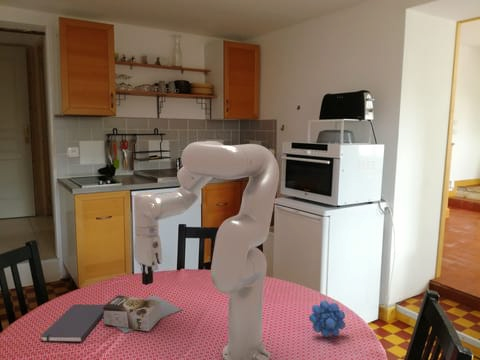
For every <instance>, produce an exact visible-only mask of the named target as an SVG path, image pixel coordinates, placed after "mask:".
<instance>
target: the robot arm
mask: <svg viewBox="0 0 480 360" xmlns="http://www.w3.org/2000/svg"><path fill="white" fill-rule="evenodd" d="M180 159H181V164H182V167H181V168H180V169H179V170H178V171H177V175H176V176H177V180H178V183H179V184H180V187H179V188H177V189H176V190H175V191H173V192H168V193H163V194H159V195H158V194H157V193H155V192H153V191H142V192H137V193H135V195H134V197H133V203H134V205H133V207H134V210H133V211H134V212H133V213H134V242H133V243H134V244H133V245H134V247H133V248H134V249H133V251H134V252H133V255H134V260H135V261H136V262H137V264H138V265H139V266H140V271H141V283H142V284H143V285H144V286H147V285H151V284H153V283H154V271H157V270H159V265H162V263H163V252H162V249H163V248H162V242H161V237H160V236H161V235H159V221H161V220H165V219H169V218H172V217H176V216H179V215H181V214H183V213H185V212H187V211H188V210H189V209H190V208H191V207H192V206H193V205H194V204H195V203H196V202H197V201H198V200H199V198H200V195H201V190H202V189H203V188H204V187H205V186H206V185H207V184H208V183H209V182H210V181H211V180H212V179H213V178H214V179H221V180H238V179H242V178H247V177H249V178H248V182H247V184H246V187H245V189H244V190H243V193H242V197H241V204H240V208H239V212H238V213H237V215H233V216H230V217H229V218H226V219H225V220H224V221H222V223H221V224H220V225H219V228H218V230H217V232H216V235H215V241H214V248H213V253H212V259H211V266H210V276H211V281H212V283H213V286H214V287H215V289H216V290H217V291H219V292H220V293H221V294H225V295H226V294H227V295H228V322H227V323H228V325H227V328H228V329H227V330H228V331H227V334H228V336H227V340H228V341H227V344H226V345H224V347H223V349H222V354H221V355H222V358H223V360H270V358H271V356H272V354H271V353H270V352H269V351H267V349H266V347H265V343H264V342H263V341H262V340H263V339H262V338H263V337H262V336H263V335H262V334H263V304H264V303H263V301H264V287H265V280H266V277H267V276H266V274H267V268H268V266H267V265H268V264H267V259H266V256H265V253H264V252H263V251H261V250H260V249H259V248H257V247H258V246H260V245H262V244H264V243H265V241H266V240H267V239H268V237H269V233H270V226H271V223H272V216H273V212H274V205H275V200H276V195H277V191H278V186H279V182H280V168H279V163H278V161H277V159H276V157H275V156H274V154H273V153H272V152H271V150H269V149H268V148H267V147H265V146H263V145H261V144H256V143H246V144H235V145H233V144H232V145H225V144H223V143H221V142H220V141H215V140H208V141H207V140H206V141H205V140H204V141H195V142H191V143H189V144H188V145H187V146H186V147H185V148H184V149H183V151H182V153H181V158H180Z"/></svg>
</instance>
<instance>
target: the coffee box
mask: <svg viewBox="0 0 480 360" xmlns="http://www.w3.org/2000/svg"><path fill="white" fill-rule="evenodd" d="M103 305H104V306H103V315H104V318H103V324H104V325H107V326H114V327H115V326H119V327H125V328H131V329H136V330H139V331H144V332H145V331H146V332H150V331H151V330H152V329H153V328H154V327H155V326H156V324H157V323H158V322H159V321H160V320H162V319H161V301H157V300H150V299H146V298H141V297H135V296H134V297H133V296H127V295H126V296H125V295H119V294H118V295H116V296H115V297H114V298H112V299H111V300H109V302H107V303H105V304H103Z"/></svg>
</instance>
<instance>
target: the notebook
mask: <svg viewBox="0 0 480 360" xmlns="http://www.w3.org/2000/svg"><path fill="white" fill-rule="evenodd" d="M104 305H105V304H72V305H71V306H70V307H69V308H68V309H67V310H66V311H65V312H64V313H63V314H62V315H61V316H60V317H59V318H57V320H56V321H54V323H53V324H51V325H50V326H49V327H48V328H47V329H46V330H45V331H44V332H43V333H42V334H41V335H40V337H41V342H56V343H57V342H58V343H59V342H60V343H61V342H63V343H71V342H72V343H82V342H83V341H84V340H85V338H86V337H87V336H88V335H89V334H90V332H92V330H93V329H94V327H96V325H97V324H98V323H99V321H100V320H101V319H103V306H104Z"/></svg>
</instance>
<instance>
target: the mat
mask: <svg viewBox="0 0 480 360" xmlns="http://www.w3.org/2000/svg"><path fill="white" fill-rule="evenodd" d="M145 299H150V300H157V301H161V319H160V320H162V319H164V318H167V317H170V316H172V315H174V314H177V313H179V312H182V310H183V309H181V308H180V307H178V306H176V305H174V304H173V303H171V302H169V301H167V300H165V299H163V298H161V297H159V296H157V295H156V294H154V295H152V296H149V297H146V298H145ZM102 319H104V315H103V317H102ZM114 327H115V328H117V329H118V330H119V331H121V332H124V333H123V334H129V333H131V332H133V331H136V330H137V329H131V328H125V327H119V326H114Z"/></svg>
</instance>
